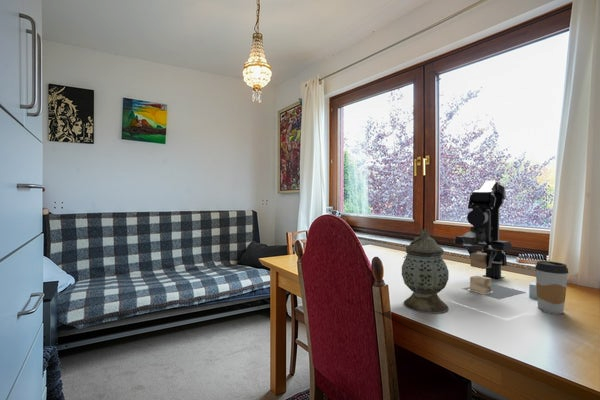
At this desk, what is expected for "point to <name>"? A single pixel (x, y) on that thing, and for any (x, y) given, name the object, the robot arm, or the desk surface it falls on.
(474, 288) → the oak block
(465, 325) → the desk surface
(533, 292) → the block
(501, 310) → the desk surface
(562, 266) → the coffee cup
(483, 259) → the walnut block
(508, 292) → the build mat
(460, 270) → the desk surface
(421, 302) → the lantern
